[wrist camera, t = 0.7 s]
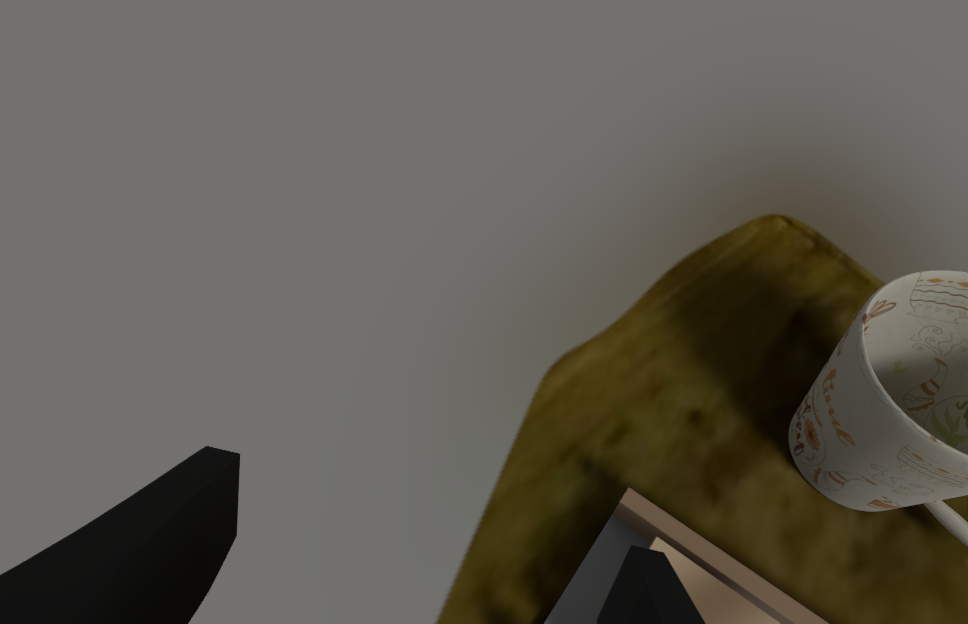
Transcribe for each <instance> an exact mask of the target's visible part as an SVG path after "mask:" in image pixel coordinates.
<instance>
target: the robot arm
mask: <svg viewBox="0 0 968 624" xmlns="http://www.w3.org/2000/svg"><path fill="white" fill-rule="evenodd" d="M239 467H240V454H239V453H234V452H230V451H226V450H221V449H217V448H213V447H209V446H206V447H205V448H203V449H201V450H200V451H198V452H197V453H195V454H193V455H192V456H190V457H189V458H187V459H186V460H184V461H183V462H181V463H180V464H178V465H177V466H175V467H174V468H172V469H171V470H169V471H168V472H167V473H165V474H163V475H162V476H160V477H159V478H157V479H156V480H155V481H153V482H152V483H150V484H148V485H147V486H145V487H144V488H143V489H141V490H139V491H138V492H136V493H135V494H134V495H132V496H130V497H129V498H127V499H126V500H124V501H123V502H121V503H119V504H118V505H116V506H115V507H113V508H112V509H110V510H108V511H107V512H106V513H104V514H102V515H101V516H99V517H98V518H96V519H94V520H93V521H91V522H90V523H88V524H87V525H85V526H83V527H82V528H80V529H79V530H77V531H75V532H74V533H72V534H70V535H69V536H67V537H65V538H63V539H62V540H60V541H58V542H57V543H55V544H53V545H51V546H50V547H48V548H46V549H45V550H43V551H41V552H40V553H38V554H36V555H34V556H33V557H31V558H30V559H28V560H26V561H24V562H23V563H21V564H19V565H17V566H16V567H14V568H12V569H10V570H8V571H7V572H5V573H3V574H1V575H0V624H188V623H189V621H190V620H191V618H192V617H193V615H194V613H195V612H196V611H197V609H198V607H199V606H200V604H201V603H202V601H203V600H204V598H205V596H206V595H207V593H208V592H209V590H210V588H211V586H212V584H213V582H214V580H215V578H216V576H217V574H218V572H219V570H220V568H221V566H222V565H223V562H224V560H225V558H226V556H227V554H228V552H229V550H230V548H231V546H232V544H233V542H234V540H235V538H236V536H237V514H238V491H239V490H238V489H239ZM597 624H706V623H705V622H704V620H703V618H702V617H701V615H700V613H699V611H698V610H697V608H696V606H695V605H694V603H693V601H692V599H691V598H690V596H689V594H688V593H687V591H686V589H685V587H684V586H683V584H682V582H681V581H680V579H679V577H678V575H677V574H676V572H675V570H674V569H673V567H672V565H671V563H670V562H669V560H668V558H667V557H666V555H665V553H664V552H660V551H656V550H651V549H647V548H643V547H638V546H634V545H631V546H630V548H629V551H628V553H627V555H626V557H625V559H624V561H623V564H622V566H621V568H620V570H619V572H618V574H617V577H616V579H615V581H614V583H613V585H612V587H611V590H610V592H609V594H608V596H607V598H606V600H605V603H604V605H603V607H602V609H601V611H600V614H599V616H598V618H597Z"/></svg>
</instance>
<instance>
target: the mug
mask: <svg viewBox="0 0 968 624" xmlns="http://www.w3.org/2000/svg"><path fill="white" fill-rule="evenodd" d="M788 437H789V447H790V451H791V454H792V457H793V459H794V462H795V464H796V466H797V467H798V469H799V471H800V472H801V474H802V475H803V476H804V477H805V479H806V480H807V481H808V482H809V483H810V484H811V485H812V486H813V487H814V488H815V489H816V490H817V491H819V492H820V493H821V494H822V495H824V496H825V497H827V498H828V499H830V500H832V501H834V502H836V503H838V504H840V505H843V506H845V507H848V508H851V509H855V510H860V511H884V510H891V509H896V508H901V507H906V506H912V505H917V504H922V503H924V505H925V506H926V507H927V509H928V510H929V511H930V512H931V513H932V514H933V515H934V517H935V518H936V519H937V520H938V521H939V522H940V523H941V524H942V525H943V526H944V527H945V528H946V529H948V530H949V531H950V532H951V533H952V534H953V535H954V536H955V537H956V538H957V539H958V540H959V541H960V542H961V543H963V544H964V545H965V546H966V547H967V548H968V522H966V521H965V520H964V519H963V518H962V517H961V516H960V515H958V514H957V513H956V512H955V511H954V510H953V509H951V508H950V507H949V506H948V505H946V504H945V503H944V502H943V501H941V500H943V499H948V498H954V497H959V496H964V495H968V273H965V272H957V271H947V270H932V271H922V272H915V273H912V274H908V275H904V276H902V277H899V278H897V279H894V280H892V281H891V282H889V283H887V284H885V285H884V286H882V287H881V288H880V289H878V290H877V291H876V292H875V293H874V294H873V295H872V296H871V297H870V298H869V299H868V300H867V301H866V303H865V304H864V305H863V307H862V308H861V309H860V311H859V312H858V314H857V315H856V317H855V318H854V320H853V322H852V323H851V325H850V326H849V328H848V329H847V331H846V333H845V334H844V336H843V337H842V339H841V341H840V342H839V344H838V345H837V347H836V349H835V350H834V352H833V353H832V355H831V357H830V358H829V360H828V361H827V363H826V364H825V366H824V368H823V369H822V371H821V372H820V374H819V376H818V377H817V379H816V380H815V382H814V384H813V385H812V387H811V388H810V390H809V391H808V393H807V395H806V396H805V398H804V399H803V401H802V403H801V404H800V406H799V407H798V409H797V411H796V412H795V414H794V416H793V418H792V421H791V423H790V427H789V436H788Z"/></svg>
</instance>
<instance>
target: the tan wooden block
mask: <svg viewBox="0 0 968 624" xmlns="http://www.w3.org/2000/svg"><path fill="white" fill-rule="evenodd" d="M649 549H651V550H656V551H660V552H664V553H665V555H666V557H667V558H668V560H669V562H670V563H671V565H672V567H673V569H674V570H675V572H676V574H677V575H678V577H679V579H680V581H681V582H682V584H683V586H684V587H685V589H686V591H687V593H688V594H689V596H690V598H691V599H692V601H693V603H694V605H695V606H696V608H697V610H698V611H699V613H700V615H701V617H702V618H703V620H704V622H705V623H706V624H781V623H779V622H778V621H776V620H775V619H774V618H772V617H771V616H769V615H768V614H766V613H765V612H764V611H762V610H761V609H759V608H758V607H756V606H755V605H754V604H752V603H751V602H749V601H748V600H747V599H745V598H744V597H742V596H741V595H739V594H738V593H737V592H735V591H734V590H732V589H731V588H729V587H728V586H727V585H725V584H724V583H722V582H721V581H719V580H718V579H717V578H715V577H714V576H712V575H711V574H709V573H708V572H707V571H705V570H704V569H702V568H701V567H700V566H698V565H697V564H695V563H694V562H692V561H691V560H690V559H688V558H687V557H685V556H684V555H682V554H681V553H680V552H678V551H677V550H675V549H674V548H672V547H671V546H670V545H668V544H667V543H665V542H664V541H663V540H661V539H660V538H658V537H656V538H655V539H654V540H653V542H652V544H651V545H650V547H649Z"/></svg>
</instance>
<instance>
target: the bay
mask: <svg viewBox="0 0 968 624" xmlns="http://www.w3.org/2000/svg"><path fill="white" fill-rule="evenodd" d="M656 537H658V538H660V539H661V540H663V541H664V542H665V543H667V544H668V545H670V546H671V547H672V548H674V549H675V550H677V551H678V552H680V553H681V554H682V555H684V556H685V557H687V558H688V559H690V560H691V561H692V562H694V563H695V564H697V565H698V566H700V567H701V568H702V569H704V570H705V571H707V572H708V573H709V574H711V575H712V576H714V577H715V578H717V579H718V580H719V581H721V582H722V583H724V584H725V585H727V586H728V587H729V588H731V589H732V590H734V591H735V592H737V593H738V594H739V595H741V596H742V597H744V598H745V599H747V600H748V601H749V602H751V603H752V604H754V605H755V606H756V607H758V608H759V609H761V610H762V611H764V612H765V613H766V614H768V615H769V616H771V617H772V618H774V619H775V620H776V621H778V622H779V623H781V624H829V623H827V622H826V621H824V620H823V619H822V618H820V617H819V616H817V615H816V614H814V613H813V612H811V611H810V610H808V609H807V608H805V607H804V606H802V605H801V604H799V603H798V602H797V601H795V600H794V599H792V598H791V597H789V596H788V595H786V594H785V593H783V592H782V591H780V590H779V589H777V588H776V587H775V586H773V585H772V584H770V583H769V582H767V581H766V580H764V579H763V578H761V577H760V576H758V575H757V574H755V573H754V572H753V571H751V570H750V569H748V568H747V567H745V566H744V565H742V564H741V563H739V562H738V561H736V560H735V559H733V558H732V557H731V556H729V555H728V554H726V553H725V552H723V551H722V550H720V549H719V548H717V547H716V546H714V545H713V544H711V543H710V542H709V541H707V540H706V539H704V538H703V537H701V536H700V535H698V534H697V533H695V532H694V531H692V530H691V529H689V528H688V527H686V526H685V525H684V524H682V523H681V522H679V521H678V520H676V519H675V518H673V517H672V516H670V515H669V514H667V513H666V512H664V511H663V510H662V509H660V508H659V507H657V506H656V505H654V504H653V503H651V502H650V501H648V500H647V499H645V498H644V497H642V496H641V495H640V494H638V493H637V492H635V491H634V490H632V489H631V488H628V489H627V491H626V492H625V494H624V496H623V497H622V499H621V500H620V502H619V504H618V505H617V507H616V509H615V510H614V512H613V514H612V515H611V517H610V519H609V520H608V522H607V523H606V525H605V527H604V528H603V530H602V531H601V533H600V535H599V536H598V538H597V539H596V541H595V543H594V544H593V546H592V547H591V549H590V551H589V552H588V554H587V555H586V557H585V559H584V560H583V562H582V563H581V565H580V567H579V568H578V570H577V571H576V573H575V575H574V576H573V578H572V579H571V581H570V583H569V584H568V586H567V587H566V589H565V591H564V592H563V594H562V595H561V597H560V599H559V600H558V602H557V603H556V605H555V607H554V608H553V610H552V611H551V613H550V615H549V616H548V618H547V619H546V621H545V623H544V624H597V618H598V616H599V614H600V611H601V609H602V607H603V605H604V603H605V600H606V598H607V596H608V594H609V592H610V590H611V587H612V585H613V583H614V581H615V579H616V577H617V574H618V572H619V570H620V568H621V566H622V564H623V561H624V559H625V557H626V555H627V553H628V551H629V548H630V546H631V545H634V546H638V547H643V548H647V549H649V547H650V545H651V544H652V542H653V540H654V539H655V538H656Z"/></svg>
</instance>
